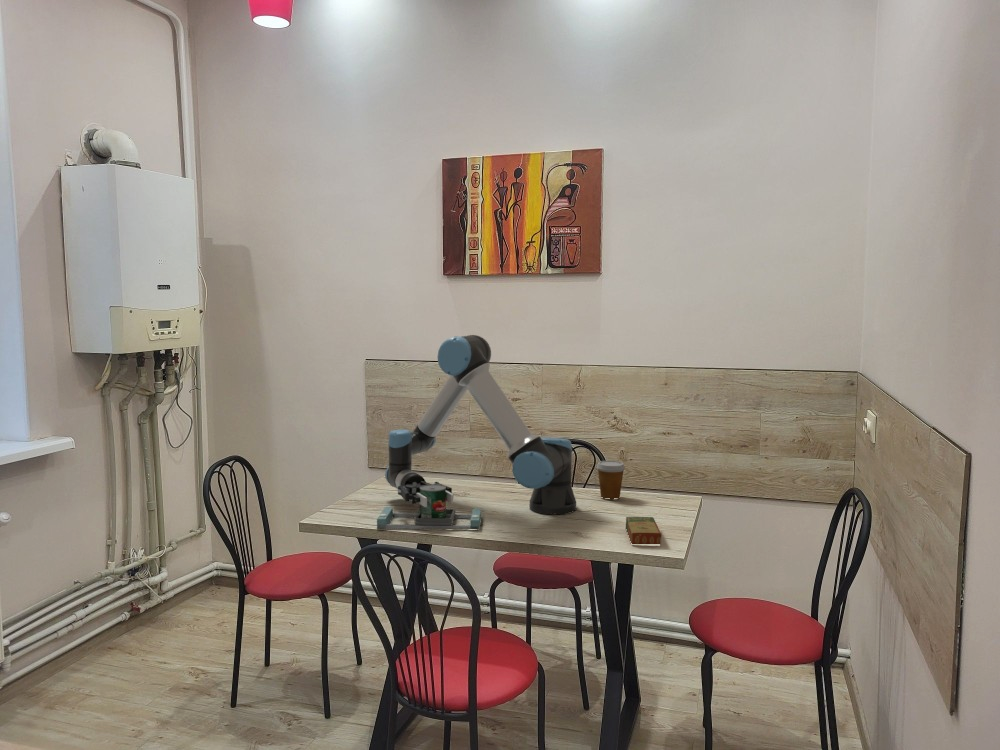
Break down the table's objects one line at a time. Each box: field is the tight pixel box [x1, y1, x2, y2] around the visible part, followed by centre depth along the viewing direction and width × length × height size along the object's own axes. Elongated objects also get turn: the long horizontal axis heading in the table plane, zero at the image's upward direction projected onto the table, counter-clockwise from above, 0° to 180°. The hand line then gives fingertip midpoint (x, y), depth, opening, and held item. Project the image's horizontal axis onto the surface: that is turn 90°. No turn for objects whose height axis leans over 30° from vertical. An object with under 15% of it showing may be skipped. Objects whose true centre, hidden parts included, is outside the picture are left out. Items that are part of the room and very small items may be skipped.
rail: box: [376, 512, 480, 530], centre depth 231 cm, size 30×13×1 cm, turn 88°
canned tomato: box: [419, 483, 447, 518], centre depth 231 cm, size 8×8×11 cm
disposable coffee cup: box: [596, 460, 626, 499], centre depth 260 cm, size 10×10×12 cm
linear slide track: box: [376, 506, 482, 529], centre depth 231 cm, size 30×13×3 cm, turn 88°
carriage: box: [414, 508, 457, 525], centre depth 231 cm, size 11×13×2 cm
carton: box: [625, 516, 662, 545], centre depth 219 cm, size 8×16×4 cm, turn 176°
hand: (439, 500), depth 226 cm, fingers closed on canned tomato, 8 cm apart
